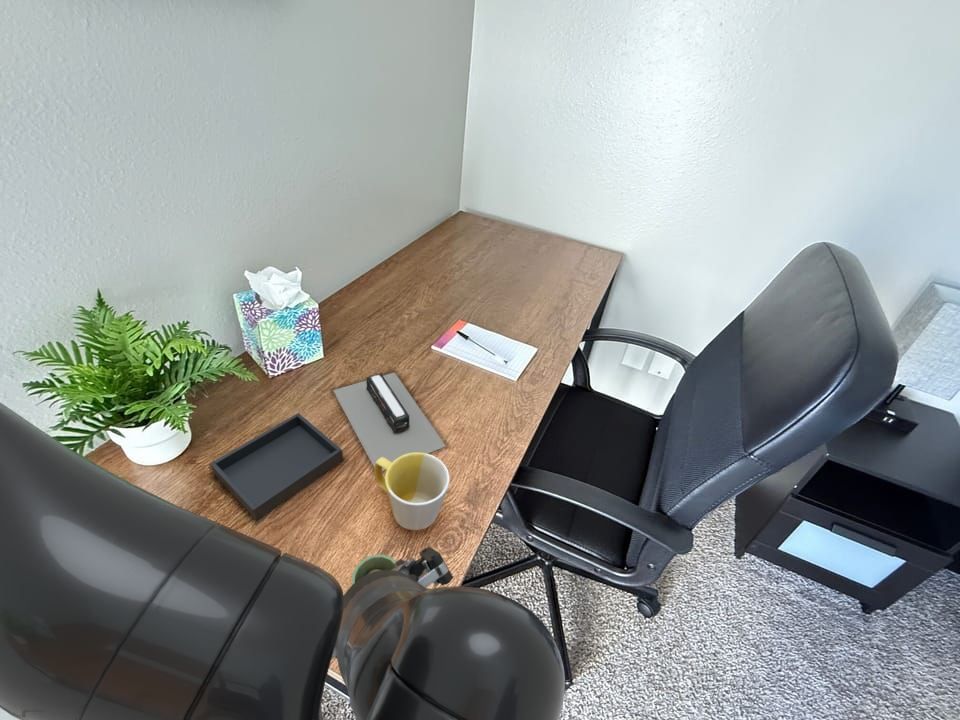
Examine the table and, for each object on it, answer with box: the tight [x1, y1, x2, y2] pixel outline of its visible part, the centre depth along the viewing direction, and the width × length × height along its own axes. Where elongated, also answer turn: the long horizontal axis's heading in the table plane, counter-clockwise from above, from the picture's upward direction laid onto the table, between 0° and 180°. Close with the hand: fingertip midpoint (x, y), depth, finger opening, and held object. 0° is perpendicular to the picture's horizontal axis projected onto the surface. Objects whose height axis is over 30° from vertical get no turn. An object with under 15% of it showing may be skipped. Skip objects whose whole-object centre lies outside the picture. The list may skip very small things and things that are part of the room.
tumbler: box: [350, 553, 397, 586], centre depth 64 cm, size 6×6×10 cm
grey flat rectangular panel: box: [332, 371, 447, 472], centre depth 96 cm, size 14×25×4 cm, turn 32°
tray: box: [209, 412, 344, 522], centre depth 83 cm, size 17×13×3 cm
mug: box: [374, 452, 451, 531], centre depth 78 cm, size 14×10×10 cm
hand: (366, 595), depth 48 cm, fingers open, 8 cm apart
